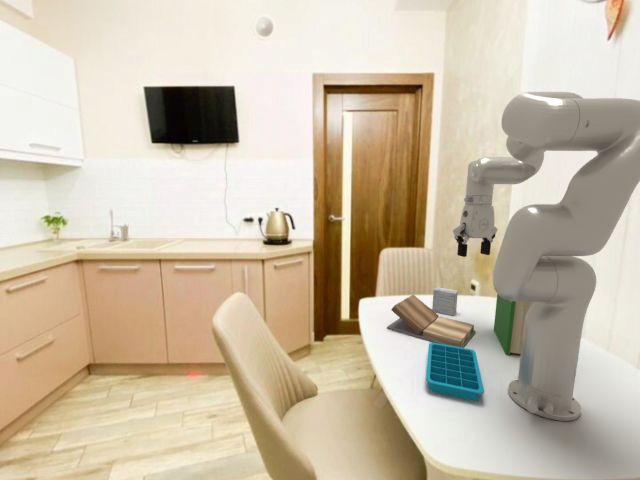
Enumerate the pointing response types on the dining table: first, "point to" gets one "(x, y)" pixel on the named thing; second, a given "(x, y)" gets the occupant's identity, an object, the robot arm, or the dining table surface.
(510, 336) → the hardback book
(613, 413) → the dining table surface
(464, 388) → the ice cube tray
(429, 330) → the oak plank
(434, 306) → the medicine box
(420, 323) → the walnut plank
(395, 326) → the underlay mat
